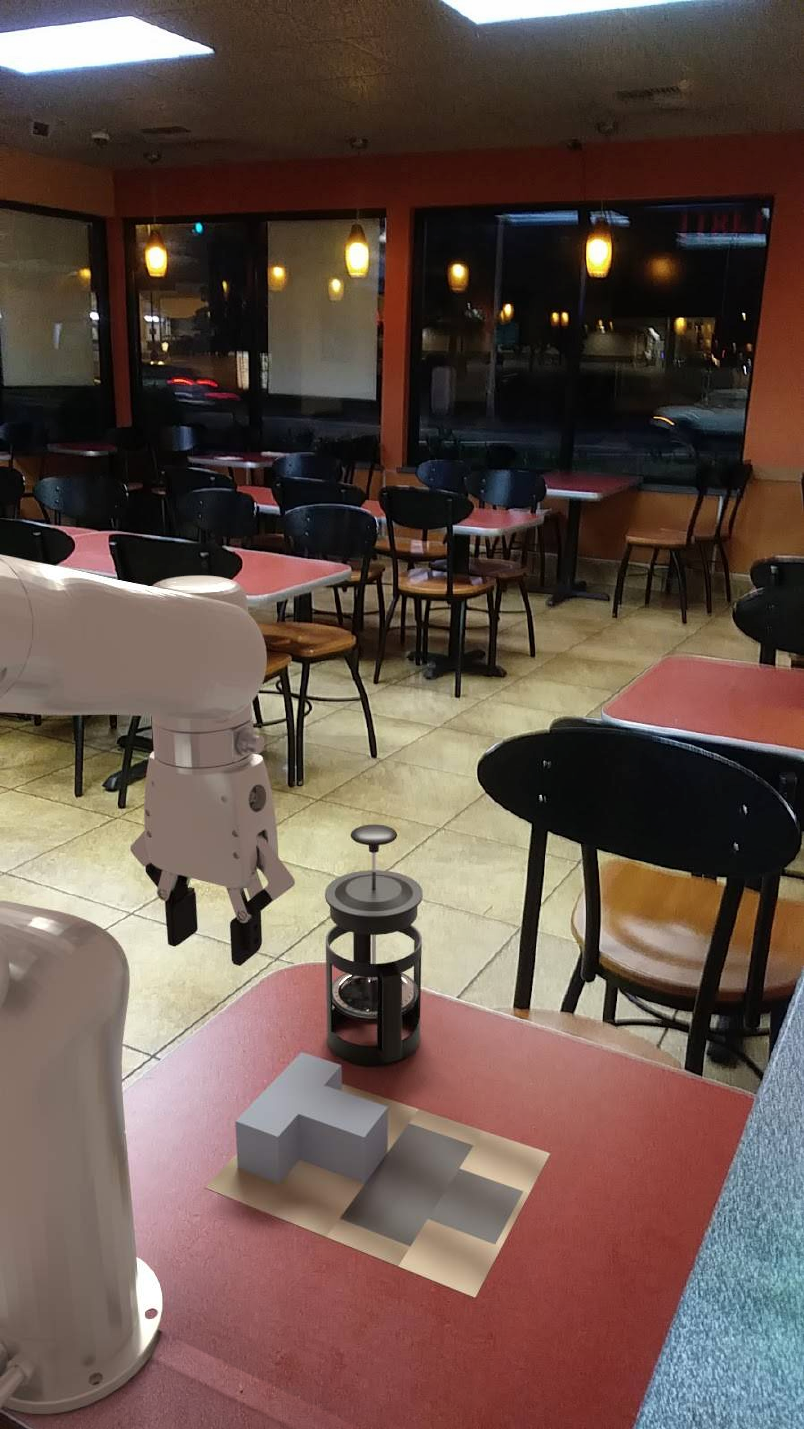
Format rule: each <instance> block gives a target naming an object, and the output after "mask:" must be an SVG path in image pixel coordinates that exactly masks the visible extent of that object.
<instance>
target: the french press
mask: <svg viewBox="0 0 804 1429" xmlns="http://www.w3.org/2000/svg"><path fill="white" fill-rule="evenodd" d="M397 837H398V833H397V831H396V830H395V829H394V828H393V827H390V826H388V825H384V824H373V823H372V824H364V825H361V826H358V827H356V828H354V829H353V830H352V831H351V832H350V838H351V840H352V841H354V842H355V843H358V844H360V845H366V846H368V852H369V853H371V869H367V870H360V871H352V872H350V873H346V874H344V875H341V876H339V877H337V878H335V879H334V880H332V881H331V882H330V883H329V884H328V885H327V886H326V888H325V892H324V897H325V902H326V903H327V904H328V906H329V912H330V913H329V915H330V919H331V920H332V922H333V923H334V924H335V925H334V926H332V928H330V929H329V931H328V932H327V934H326V936H325V978H326V979H325V981H326V984H325V985H326V986H325V988H326V989H325V990H326V992H325V993H326V994H325V995H326V1042H327V1046H328V1048H329V1050H330V1051H331V1052H332V1053H333V1055H334V1056H335V1057H337V1058H338V1059H340V1060H342V1062H346V1063H348V1064H350V1065H354V1066H358V1067H364V1068H381V1067H388V1066H394V1065H396V1064H398V1063H402V1062H403V1061H405V1060H407V1059H409V1058H410V1057H412V1055H413V1054H414V1053H416V1052H417V1050H418V1048H419V1045H420V1042H421V1003H422V1002H421V998H422V997H421V996H422V994H421V993H422V991H421V990H422V988H421V987H422V985H421V984H422V950H423V949H422V946H423V940H422V939H423V938H422V934H421V932H420V931H419V930H418V928H417V927H415V926H414V925H412V924H413V923H415V921H416V919H417V917H418V906H419V905H420V904H421V902H422V900H423V896H424V895H423V888H422V887H421V885H420V884H419V883H418V881H416V880H415V879H413V878H412V877H410V876H408V875H405V874H402V873H400V872H399V873H398V872H394V871H390V870H380V869H377V853H379V851H380V846H384V845H387V844H389V843H392V842H394V841H395V840H396V839H397ZM397 932H398V933H401V934H403V935H405V936H407V937H409V938H410V939H412V940H413V951H412V952H411V953H410V954H408V955H407V956H405V957H403V958H400V959H397V960H393V961H388V962H382V963H377V960H376V959H377V958H376V957H377V955H376V954H377V952H376V951H377V946H376V944H377V940H376V939H377V936H378V935H379V936H380V935H390V934H393V933H397ZM347 933H348V934H349V933H352V934H353V935H352V937H353V938H352V940H353V944H352V946H353V947H352V948H353V951H352V952H353V953H352V954H353V956H352V957H353V958H352V959H353V960H350V959H347V958H344V957H342V956H340V955H338V954H337V953H335V951H334V950H332V948H331V944H332V943H333V942H334V941H335V940H337V939H338V938H340V937H341V936H343V935H345V934H347ZM333 967H334V968H335V969H337V970H339V971H340V972H343V973H342V974H341V975H340V976H338V977H337V978H335V980H333ZM411 968H413V979H412V978H411V977H410V976H409V975H407V974H405V972H407V971H408V970H410V969H411ZM347 1018H352V1019H356V1020H360V1021H366V1022H376V1046H375V1045H362V1044H357V1043H353V1042H350V1041H348V1040H345V1039H343V1038H342V1037H340V1036H338V1035H337V1034H336V1033H335V1032H334V1028H335V1027H336V1026H337V1025H338V1024H339V1023H341V1022H342V1021H344V1020H345V1019H347ZM403 1020H404V1021H407V1022H408V1023H409V1024H410V1025H411V1026H412V1027H413V1029H414V1030H413V1031H412V1032H411V1033H410V1034H409V1035H408V1036H407V1037H405V1038H403V1037H402V1034H403V1029H402V1028H403ZM402 1038H403V1039H402Z"/></svg>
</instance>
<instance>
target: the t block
mask: <svg viewBox="0 0 804 1429" xmlns="http://www.w3.org/2000/svg"><path fill="white" fill-rule="evenodd" d="M342 1072H343V1071H342V1064H339V1063H335V1062H333V1061H330V1060H326V1059H323V1058H321V1057H318V1056H314V1055H311V1054H309V1053H305V1052H300V1053H299V1054H298V1055H297V1056H296V1057H295V1058H294V1059H293V1060H292V1062H290V1063H289V1065H288V1066H286V1068H285V1069H284V1070H283V1071H282V1072H281V1073H280V1074H279V1075H278V1076H276V1078H275V1079H274V1080H273V1081H272V1082H271V1083H270V1084H269V1085H268V1086H267V1087H266V1088H265V1090H263V1092H262V1093H261V1094H260V1095H259V1096H258V1097H256V1099H255V1100H254V1101H253V1102H252V1103H251V1104H250V1105H249V1106H248V1107H247V1108H246V1110H244V1111H243V1112H242V1113H241V1115H240V1116H239V1117H238V1118H237V1119H236V1120H235V1123H234V1124H235V1137H236V1138H235V1139H236V1140H235V1141H236V1153H237V1164H238V1168H241V1169H243V1170H246V1171H248V1172H251V1173H254V1174H256V1175H259V1176H261V1177H264V1178H266V1179H269V1180H271V1181H274V1182H277V1183H279V1184H280V1183H281V1182H282V1180H283V1179H284V1178H285V1177H286V1176H287V1174H288V1173H289V1172H290V1171H291V1170H292V1168H293V1167H294V1166H295V1165H296V1164H297V1162H298V1161H299V1160H302V1161H304V1162H307V1163H310V1164H312V1165H315V1166H318V1167H320V1168H323V1169H326V1170H328V1171H331V1172H333V1173H336V1174H339V1175H341V1176H344V1177H347V1178H349V1179H352V1180H355V1181H357V1182H360V1183H363V1184H365V1183H366V1181H367V1180H368V1179H369V1177H370V1176H371V1175H372V1173H373V1172H374V1170H375V1169H376V1168H377V1166H378V1165H379V1164H380V1162H381V1161H382V1159H383V1158H384V1157H385V1155H386V1154H387V1153H388V1107H386V1106H384V1105H381V1104H378V1103H375V1102H372V1101H369V1100H366V1099H363V1098H360V1097H357V1096H354V1095H351V1094H348V1093H345V1092H342V1084H343V1083H342V1082H343V1081H342V1079H343V1078H342V1077H343V1076H342Z"/></svg>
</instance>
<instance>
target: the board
mask: <svg viewBox="0 0 804 1429" xmlns="http://www.w3.org/2000/svg"><path fill="white" fill-rule="evenodd" d="M342 1092H345V1093H348V1094H351V1095H354V1096H357V1097H360V1098H363V1099H366V1100H369V1101H372V1102H375V1103H378V1104H381V1105H384V1106H386V1107H388V1153H387V1154H386V1155H385V1157H384V1158H383V1159H382V1161H381V1162H380V1164H379V1165H378V1166H377V1168H376V1169H375V1170H374V1172H373V1173H372V1175H371V1176H370V1177H369V1179H368V1180H367V1181H366V1183H365V1184H363V1183H360V1182H357V1181H355V1180H352V1179H349V1178H347V1177H344V1176H341V1175H339V1174H336V1173H333V1172H331V1171H328V1170H326V1169H323V1168H320V1167H318V1166H315V1165H312V1164H310V1163H307V1162H304V1161H302V1160H299V1161H298V1162H297V1164H296V1165H295V1166H294V1167H293V1168H292V1170H291V1171H290V1172H289V1173H288V1174H287V1176H286V1177H285V1178H284V1179H283V1180H282V1182H281V1183H280V1184H279V1183H277V1182H274V1181H271V1180H269V1179H266V1178H264V1177H261V1176H259V1175H256V1174H254V1173H251V1172H248V1171H246V1170H243V1169H241V1168H238V1164H237V1152H236V1154H234V1155H233V1156H232V1158H231V1159H230V1160H229V1161H227V1163H226V1164H225V1165H224V1166H223V1167H222V1169H221V1170H220V1171H219V1172H218V1173H217V1174H216V1175H214V1177H213V1178H212V1179H211V1180H210V1182H209V1183H208V1184H207V1185H206V1186H205V1187H204V1188H205V1189H206V1190H209V1191H211V1192H215V1193H216V1194H219V1195H221V1196H223V1197H226V1198H229V1199H231V1200H234V1201H237V1202H239V1203H241V1204H244V1205H246V1206H248V1207H251V1208H252V1209H255V1210H258V1211H260V1212H263V1213H265V1214H268V1215H269V1216H272V1217H275V1218H277V1219H281V1220H283V1221H285V1222H288V1223H291V1224H292V1225H295V1226H298V1227H299V1228H302V1229H305V1230H306V1231H310V1232H312V1233H314V1234H317V1235H319V1236H321V1237H324V1238H327V1239H329V1240H332V1241H334V1242H337V1243H339V1244H341V1245H343V1246H347V1247H349V1248H352V1249H354V1250H356V1251H359V1252H361V1253H364V1254H366V1255H368V1256H371V1257H374V1258H376V1259H379V1260H381V1261H383V1262H385V1263H388V1264H391V1265H393V1266H396V1267H398V1268H400V1269H403V1270H406V1271H408V1272H411V1273H412V1274H415V1275H417V1276H420V1277H423V1278H425V1279H428V1280H430V1281H433V1282H434V1283H437V1284H439V1285H442V1286H445V1287H447V1288H450V1289H452V1290H454V1291H457V1292H460V1293H462V1294H464V1295H467V1296H468V1297H471V1298H474V1299H476V1297H477V1296H478V1293H479V1292H480V1289H481V1288H482V1286H483V1285H484V1283H485V1281H486V1278H487V1276H488V1275H489V1272H490V1270H491V1269H492V1266H493V1265H494V1263H495V1261H496V1259H497V1257H498V1255H499V1253H500V1251H501V1249H502V1247H503V1246H504V1244H505V1242H506V1240H507V1238H508V1236H509V1234H510V1233H511V1230H512V1228H513V1227H514V1224H515V1223H516V1221H517V1218H518V1216H519V1215H520V1213H521V1211H522V1210H523V1207H524V1205H525V1203H526V1202H527V1200H528V1198H529V1196H530V1194H531V1192H532V1190H533V1188H534V1187H535V1184H536V1182H537V1180H538V1179H539V1176H540V1174H541V1172H542V1171H543V1168H544V1166H545V1165H546V1163H547V1161H548V1159H549V1157H550V1155H551V1153H550V1152H547V1151H545V1150H542V1149H539V1148H535V1147H533V1146H530V1145H526V1144H524V1143H521V1142H518V1141H515V1140H512V1139H509V1138H505V1137H503V1136H500V1135H497V1134H494V1133H491V1132H488V1131H485V1130H482V1129H479V1128H476V1127H473V1126H470V1125H468V1124H464V1123H461V1122H458V1121H455V1120H452V1119H449V1118H446V1117H443V1116H440V1115H438V1114H433V1113H432V1112H428V1111H426V1110H422V1109H419V1108H417V1107H414V1106H412V1105H411V1106H410V1105H407V1104H405V1103H403V1102H399V1101H395V1100H392V1099H390V1098H386V1097H383V1096H380V1095H378V1094H375V1093H371V1092H369V1091H366V1090H363V1089H360V1088H356V1087H355V1086H351V1085H348V1084H345V1083H342Z"/></svg>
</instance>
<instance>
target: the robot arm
mask: <svg viewBox="0 0 804 1429" xmlns="http://www.w3.org/2000/svg"><path fill="white" fill-rule="evenodd" d="M248 605H249V604H248V598H247V594H246V592H245V590H244V588H243V587H242V586H241V585H240V584H239V583H238V582H237V581H235V580H233V579H229V578H225V577H222V576H214V575H184V576H183V575H182V576H175V577H169V578H166V579H162V580H160V581H157V582H156V583H154V584H152V586H148V585H145V584H139V583H133V582H128V581H123V580H118V579H115V578H110V577H106V576H101V575H96V574H93V573H90V572H85V571H81V570H77V569H74V568H66V567H63V566H57V565H53V564H49V563H43V562H37V561H32V560H27V559H23V558H19V557H15V556H9V555H6V554H4V555H3V554H0V713H15V714H16V713H17V714H26V715H27V714H30V715H37V716H38V715H40V716H42V715H43V716H82V715H83V716H89V715H90V716H93V715H94V716H97V715H100V716H101V715H105V716H108V715H110V716H112V715H113V716H114V715H115V716H116V715H117V716H136V717H137V716H141V717H142V716H143V717H151V728H152V730H151V731H152V743H153V751H152V752H151V753H150V754H149V756H148V763H147V767H146V768H147V769H146V777H145V786H144V787H145V789H144V804H143V806H144V807H143V810H144V811H143V813H144V814H143V815H144V816H143V817H144V818H143V819H144V820H143V821H144V822H143V823H144V824H143V825H144V830H143V832H142V833H141V834H140V835H139V836H138V837H137V838H136V839H135V840H134V842H133V843H132V844H131V845H130V852H131V853H132V855H133V856H134V858H135V859H137V861H138V862H139V863H140V864H141V866H142V867H143V868H144V867H145V868H144V869H145V873H146V875H147V876H148V877H149V879H150V880H151V881H152V883H153V884H154V885H155V886H156V887H157V889H156V895H157V897H158V898H159V900H161V901H162V902H164V909H165V922H166V923H165V926H166V935H167V936H166V937H167V945H168V946H170V947H174V948H176V947H177V946H179V945H181V944H182V943H183V942H185V941H186V940H187V939H189V938H190V937H191V936H193V935H194V934H195V933H196V932H197V931H198V928H199V927H198V912H197V910H198V909H197V895H196V894H197V893H196V891H195V888H194V887H192V886H189V885H190V882H191V880H192V879H194V880H198V881H201V882H205V883H209V884H213V885H217V886H221V887H224V888H225V889H226V891H227V895H228V896H229V900H230V903H231V906H232V910H233V911H234V915H235V917H234V918H233V919H231V920H230V922H229V923H230V924H229V934H230V949H231V950H230V951H231V963H232V964H233V965H235V966H238V967H239V966H240V967H241V966H243V965H244V963H246V962H247V961H249V959H251V958H252V957H253V956H254V955H256V954H257V953H258V952H259V951H260V949H261V946H262V944H263V935H262V934H263V932H262V931H263V930H262V911H263V910H264V909H266V907H268V906H269V905H270V904H271V903H272V902H274V901H275V900H277V899H278V898H279V897H281V896H282V895H283V894H285V893H287V891H289V890H291V888H293V887H294V886H295V884H296V880H295V878H294V877H293V875H292V874H291V873H290V871H289V869H287V867H286V866H285V865H284V862H282V861H281V859H280V858H279V844H278V840H279V839H278V830H277V829H278V828H277V820H276V811H275V804H274V797H273V792H272V787H271V782H270V778H269V774H268V771H267V767H266V763H265V761H264V758H263V756H262V755H260V754H261V753H262V752H263V750H264V749H265V741H266V740H265V738H264V736H263V735H258V734H256V732H254V720H253V712H252V711H253V709H252V708H253V707H252V702H253V701H254V700H255V698H256V697H257V695H258V694H259V693H260V689H261V687H262V685H263V683H264V680H265V676H266V671H267V664H268V663H267V661H268V660H267V659H268V656H267V646H266V642H265V639H264V636H263V633H262V631H261V628H260V627H259V625H258V624H257V621H256V620H255V619H254V618H253V617H252V616H251V614H249V606H248ZM258 870H259V871H261V873H262V874H263V876H264V877H265V879H266V881H267V885H266V886H265V887H264V886H263V884H262V882H261V878H260V876H259V873H258ZM245 889H246V891H247V894H248V897H249V900H248V898H247V895H246V891H245ZM130 983H131V980H130V967H129V962H128V957H127V954H126V953H125V951H124V948H123V947H122V946H121V944H120V943H119V941H117V939H116V938H115V937H114V936H113V935H112V934H111V933H110V932H109V931H107V930H106V929H104V928H103V927H101V926H99V925H98V924H96V923H94V922H92V921H89V920H88V919H85V918H82V917H79V916H76V915H74V914H70V913H67V912H62V911H59V910H58V911H57V910H53V909H50V908H49V909H48V908H43V907H39V906H35V905H33V906H32V905H27V904H22V903H19V902H18V903H17V902H11V901H7V900H0V1409H1V1408H2V1407H5V1408H7V1409H10V1410H12V1411H17V1412H21V1413H24V1414H31V1415H32V1414H34V1415H35V1414H37V1415H38V1414H40V1415H52V1414H59V1413H65V1412H70V1411H72V1410H76V1409H81V1408H82V1407H86V1406H88V1405H91V1404H93V1403H95V1402H98V1401H99V1400H101V1399H103V1398H106V1397H107V1396H109V1395H110V1394H113V1392H115V1391H117V1390H118V1389H119V1388H121V1387H122V1386H124V1385H125V1384H126V1383H127V1382H128V1381H129V1380H130V1379H131V1378H133V1376H135V1375H136V1374H137V1373H139V1371H140V1370H141V1368H142V1367H143V1366H144V1365H145V1364H146V1362H147V1361H148V1360H149V1358H150V1357H151V1356H152V1354H153V1351H154V1350H155V1348H156V1346H157V1345H158V1343H159V1340H160V1339H161V1338H160V1337H161V1334H162V1331H161V1330H160V1329H159V1327H160V1323H161V1321H162V1320H161V1319H162V1315H163V1310H164V1296H163V1293H162V1292H163V1291H162V1288H161V1284H160V1281H159V1280H158V1278H157V1276H156V1274H155V1272H154V1270H152V1268H150V1266H149V1265H148V1264H147V1263H146V1262H145V1261H143V1260H142V1259H140V1258H139V1257H138V1256H137V1244H136V1235H135V1224H134V1223H135V1222H134V1221H135V1220H134V1213H133V1200H132V1189H131V1176H130V1168H129V1166H130V1164H129V1155H128V1143H127V1132H126V1122H125V1121H126V1120H125V1111H124V1110H125V1108H124V1095H123V1067H122V1066H123V1065H122V1064H123V1049H124V1048H123V1047H124V1044H123V1043H124V1035H125V1026H126V1021H127V1020H126V1019H127V1012H128V1007H129V1006H128V1004H129V998H130V997H129V996H130V986H131V985H130ZM150 1310H156V1312H157V1314H156V1316H155V1317H154V1318H150V1319H148V1318H147V1317H146V1315H145V1314H146V1313H147V1311H150Z"/></svg>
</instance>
